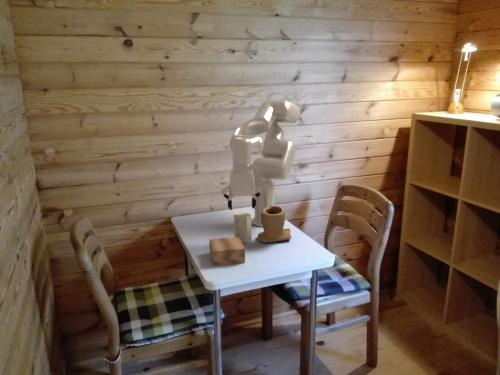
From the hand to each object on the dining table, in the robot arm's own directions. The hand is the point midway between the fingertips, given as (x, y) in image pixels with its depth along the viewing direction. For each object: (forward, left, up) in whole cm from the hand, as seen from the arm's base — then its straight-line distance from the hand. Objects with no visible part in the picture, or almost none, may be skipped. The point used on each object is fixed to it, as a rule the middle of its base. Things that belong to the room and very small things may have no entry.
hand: (241, 208), depth 169 cm
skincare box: (0, -1, -15) cm, 15 cm away
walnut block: (+9, +14, -15) cm, 23 cm away
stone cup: (-14, +1, -15) cm, 21 cm away
